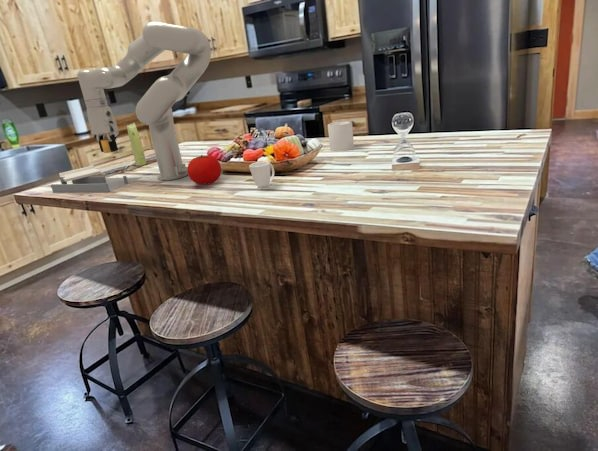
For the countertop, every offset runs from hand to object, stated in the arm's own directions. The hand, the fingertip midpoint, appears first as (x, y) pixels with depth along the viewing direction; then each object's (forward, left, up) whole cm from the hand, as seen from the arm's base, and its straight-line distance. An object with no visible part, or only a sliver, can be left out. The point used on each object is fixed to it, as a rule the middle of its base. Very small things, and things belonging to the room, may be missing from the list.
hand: (109, 150), depth 168 cm
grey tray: (+9, +3, -14) cm, 16 cm away
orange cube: (0, 0, 0) cm, 0 cm away
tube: (+15, -30, -14) cm, 36 cm away
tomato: (-44, +2, -14) cm, 47 cm away
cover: (+19, +1, -13) cm, 23 cm away
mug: (-81, -47, -14) cm, 95 cm away
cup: (-70, +6, -14) cm, 72 cm away
